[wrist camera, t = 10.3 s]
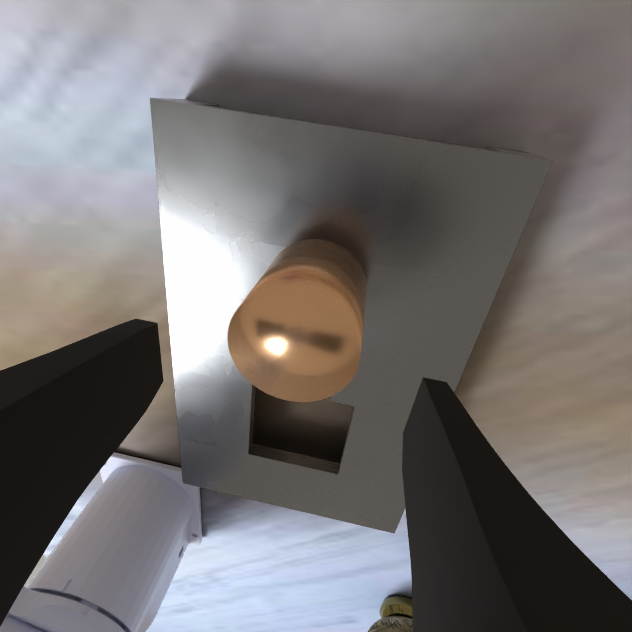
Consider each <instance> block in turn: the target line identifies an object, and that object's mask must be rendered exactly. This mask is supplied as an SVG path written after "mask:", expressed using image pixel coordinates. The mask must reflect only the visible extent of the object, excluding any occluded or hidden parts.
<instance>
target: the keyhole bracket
mask: <svg viewBox="0 0 632 632" xmlns="http://www.w3.org/2000/svg"><path fill="white" fill-rule="evenodd" d="M150 104H151V116H152V128H153V140H154V151H155V163H156V175H157V187H158V199H159V210H160V222H161V234H162V246H163V258H164V269H165V281H166V293H167V305H168V317H169V328H170V340H171V352H172V364H173V376H174V387H175V399H176V411H177V423H178V434H179V446H180V458H181V470H182V482H183V483H184V484H188V485H192V486H197V487H201V488H205V489H209V490H214V491H218V492H222V493H226V494H230V495H235V496H239V497H243V498H247V499H252V500H256V501H260V502H264V503H268V504H273V505H277V506H281V507H285V508H289V509H294V510H298V511H302V512H306V513H311V514H315V515H319V516H323V517H327V518H332V519H336V520H340V521H344V522H349V523H353V524H357V525H361V526H365V527H370V528H374V529H378V530H382V531H387V532H391V533H395V531H396V528H397V526H398V524H399V521H400V519H401V517H402V514H403V512H404V510H405V497H404V486H403V475H402V448H403V431H404V429H405V426H406V423H407V420H408V417H409V415H410V412H411V409H412V406H413V403H414V401H415V398H416V395H417V392H418V389H419V387H420V384H421V381H422V378H423V377H424V378H429V379H434V380H439V381H444V382H447V383H448V385H449V386H450V387H451V389H452V390H453V392H455V390H456V387H457V385H458V383H459V380H460V378H461V376H462V373H463V371H464V369H465V366H466V364H467V361H468V359H469V357H470V354H471V352H472V350H473V347H474V345H475V343H476V340H477V338H478V336H479V333H480V331H481V329H482V326H483V324H484V322H485V319H486V317H487V314H488V312H489V310H490V307H491V305H492V303H493V300H494V298H495V296H496V293H497V291H498V289H499V286H500V284H501V282H502V279H503V277H504V274H505V272H506V270H507V267H508V265H509V263H510V260H511V258H512V256H513V253H514V251H515V249H516V246H517V244H518V242H519V239H520V237H521V235H522V232H523V230H524V227H525V225H526V223H527V220H528V218H529V216H530V213H531V211H532V209H533V206H534V204H535V202H536V199H537V197H538V195H539V192H540V190H541V187H542V185H543V183H544V180H545V178H546V176H547V173H548V171H549V169H550V166H551V164H552V162H553V161H550V160H547V159H544V158H541V157H538V156H535V155H532V154H529V153H525V152H518V151H512V150H505V149H499V148H493V147H487V149H481V148H475V147H468V146H462V145H455V144H449V143H443V142H436V141H430V140H424V139H417V138H411V137H404V136H398V135H392V134H385V133H379V132H373V131H366V130H360V129H354V128H347V127H341V126H334V125H328V124H322V123H315V122H309V121H303V120H296V119H290V118H283V117H277V116H271V115H264V114H258V113H252V112H245V111H239V110H232V109H226V108H220V107H219V106H218V104H211V103H205V102H198V101H192V100H186V99H164V98H150ZM307 239H320V240H326V241H330V242H333V243H335V244H337V245H339V246H341V247H343V248H344V249H346V250H347V251H348V252H350V253H351V254H352V255H353V256H354V257H355V258H356V260H358V262H359V264H360V265H361V267H362V269H363V271H364V274H365V277H366V282H367V296H366V305H365V315H364V325H363V335H362V345H361V355H360V362H359V366H358V369H357V372H356V374H355V376H354V377H353V379H352V380H351V382H350V383H349V384H348V385H347V386H346V387H345V388H344V389H342V390H341V391H340V392H338V393H337V394H335V395H333V396H331V398H330V401H331V402H336V403H341V404H345V405H350V406H354V407H353V411H352V415H351V419H350V423H349V427H348V431H347V435H346V439H345V443H344V447H343V451H342V455H341V460H340V463H337V462H332V461H328V460H323V459H319V458H314V457H310V456H306V455H301V454H297V453H292V452H288V451H283V450H279V449H275V448H270V447H266V446H261V445H257V444H252V441H253V425H254V409H255V393H256V387H255V386H254V385H253V384H251V383H250V382H249V381H248V380H247V379H246V378H245V377H244V376H243V375H242V374H241V372H240V371H239V370H238V368H237V367H236V365H235V363H234V362H233V360H232V357H231V355H230V352H229V348H228V341H227V333H228V327H229V324H230V321H231V318H232V317H233V315H234V313H235V311H236V310H237V309H238V307H239V306H240V305H241V303H242V302H243V301H244V299H245V298H246V297H247V295H248V294H249V293H250V291H251V290H252V288H253V287H254V286H255V284H256V283H257V282H258V280H259V279H260V278H261V276H262V275H263V274H264V272H265V271H266V270H267V268H268V267H269V266H270V264H271V263H272V261H273V260H274V259H275V257H276V256H277V255H278V254H279V253H280V252H281V251H282V250H283V249H284V248H286V247H287V246H289V245H291V244H293V243H295V242H298V241H302V240H307Z"/></svg>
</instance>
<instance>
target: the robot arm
mask: <svg viewBox="0 0 632 632" xmlns="http://www.w3.org/2000/svg"><path fill="white" fill-rule="evenodd" d="M162 383H163V373H162V363H161V354H160V344H159V334H158V324H157V323H154V322H150V321H145V320H140V319H134V320H131V321H128V322H125V323H122V324H120V325H117V326H114V327H112V328H109V329H107V330H104V331H102V332H99V333H97V334H95V335H92V336H90V337H87V338H85V339H82V340H80V341H77V342H75V343H72V344H70V345H67V346H65V347H62V348H60V349H57V350H55V351H52V352H50V353H47V354H44V355H42V356H39V357H36V358H34V359H31V360H28V361H26V362H23V363H20V364H17V365H15V366H12V367H9V368H7V369H4V370H1V371H0V632H145V631H146V630H147V629H148V628H149V626H150V625H151V623H152V622H153V620H154V618H155V616H156V614H157V612H158V610H159V608H160V605H161V603H162V601H163V599H164V597H165V594H166V592H167V590H168V588H169V586H170V583H171V581H172V579H173V577H174V574H175V572H176V570H177V568H178V566H179V563H180V561H181V559H182V557H183V554H184V552H185V550H186V548H187V546H188V543H191V544H195V545H199V544H200V543H201V541H202V525H201V504H200V487H197V486H192V485H188V484H184V483H183V482H182V470H181V468H179V467H175V466H171V465H167V464H162V463H158V462H154V461H149V460H145V459H141V458H137V457H132V456H128V455H124V454H119V453H115V450H116V449H117V448H118V447H119V445H120V444H121V443H122V442H123V440H124V439H125V438H126V437H127V435H128V434H129V433H130V431H131V430H132V429H133V428H134V426H135V425H136V424H137V422H138V421H139V420H140V418H141V417H142V416H143V414H144V413H145V412H146V410H147V408H148V407H149V405H150V403H151V402H152V400H153V399H154V397H155V395H156V393H157V391H158V390H159V388H160V386H161V384H162ZM99 471H100V473H101V476H102V480H103V484H102V486H101V487H100V488H99V490H98V491H97V492H96V494H95V495H94V496H93V498H92V499H91V500H90V502H89V503H88V504H87V506H86V507H85V508H84V510H83V511H82V512H81V514H80V515H79V516H78V518H77V519H76V520H75V522H74V523H73V524H72V526H71V527H70V528H69V530H68V531H67V532H66V534H65V535H64V536H63V538H62V539H61V540H60V542H59V543H58V545H57V546H56V547H55V549H54V550H53V551H52V553H51V554H50V555H49V557H48V558H47V559H46V561H45V562H44V563H43V565H42V566H41V567H40V569H39V570H38V571H37V573H36V574H35V575H34V577H33V578H32V579H31V581H30V582H29V583H28V585H27V586H26V587H24V584H25V583H26V581H27V579H28V578H29V576H30V574H31V573H32V571H33V570H34V568H35V566H36V564H37V563H38V561H39V560H40V558H41V556H42V555H43V553H44V552H45V550H46V548H47V547H48V545H49V543H50V542H51V540H52V539H53V537H54V535H55V534H56V532H57V531H58V529H59V528H60V526H61V525H62V523H63V521H64V520H65V518H66V517H67V515H68V514H69V512H70V511H71V509H72V508H73V506H74V504H75V503H76V501H77V500H78V499H79V497H80V496H81V494H82V493H83V492H84V490H85V489H86V488H87V486H88V485H89V483H90V482H91V481H92V480H93V478H94V477H95V476H96V475H97V473H98V472H99ZM402 475H403V486H404V497H405V507H406V517H407V527H408V537H409V548H410V558H411V573H412V632H632V600H631V599H630V598H629V597H627V596H626V595H625V594H624V593H623V592H622V591H621V590H620V589H619V588H618V587H617V586H616V585H615V584H614V583H613V582H612V581H611V580H610V579H609V578H608V577H607V576H606V575H605V574H604V573H603V572H602V571H601V570H600V569H599V568H598V567H597V566H596V565H595V564H594V563H593V562H592V561H591V560H590V559H589V558H588V557H587V556H586V555H585V554H584V553H583V552H582V551H581V550H580V549H579V548H578V547H577V546H576V545H575V544H574V543H573V542H572V541H571V540H570V539H569V538H568V537H567V536H566V535H565V533H564V532H563V531H562V530H561V529H560V528H559V527H558V526H557V525H556V524H555V523H554V521H553V520H552V519H551V518H550V517H549V516H548V515H547V514H546V513H545V512H544V511H543V509H542V508H541V507H540V506H539V505H538V504H537V503H536V501H535V500H534V499H533V498H532V497H531V496H530V495H529V493H528V492H527V491H526V490H525V488H524V487H523V486H522V485H521V484H520V482H519V481H518V480H517V479H516V477H515V476H514V475H513V474H512V472H511V471H510V470H509V469H508V467H507V466H506V465H505V464H504V462H503V461H502V460H501V458H500V457H499V456H498V455H497V453H496V452H495V451H494V449H493V448H492V446H491V445H490V444H489V442H488V441H487V440H486V438H485V437H484V435H483V434H482V433H481V431H480V430H479V428H478V427H477V426H476V424H475V423H474V421H473V420H472V418H471V417H470V415H469V414H468V413H467V411H466V410H465V408H464V407H463V405H462V404H461V402H460V401H459V399H458V398H457V396H456V395H455V393H454V392H453V390H452V389H451V387H450V386H449V385H448V383H447V382H444V381H439V380H434V379H429V378H424V377H423V378H422V381H421V384H420V387H419V389H418V392H417V395H416V398H415V401H414V403H413V406H412V409H411V412H410V415H409V417H408V420H407V423H406V426H405V429H404V431H403V448H402Z"/></svg>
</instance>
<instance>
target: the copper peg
mask: <svg viewBox="0 0 632 632" xmlns="http://www.w3.org/2000/svg"><path fill="white" fill-rule="evenodd" d="M366 296H367V282H366V277H365V274H364V271H363V269H362V267H361V265H360V264H359V262H358V260H356V258H355V257H354V256H353V255H352V254H351V253H350V252H348V251H347V250H346V249H344V248H343V247H341V246H339V245H337V244H335V243H333V242H330V241H326V240H320V239H307V240H302V241H298V242H295V243H293V244H291V245H289V246H287V247H286V248H284V249H283V250H282V251H281V252H280V253H279V254H278V255H277V256H276V257H275V259H274V260H273V261H272V263H271V264H270V266H269V267H268V268H267V270H266V271H265V272H264V274H263V275H262V276H261V278H260V279H259V280H258V282H257V283H256V284H255V286H254V287H253V288H252V290H251V291H250V293H249V294H248V295H247V297H246V298H245V299H244V301H243V302H242V303H241V305H240V306H239V307H238V309H237V310H236V311H235V313H234V315H233V317H232V318H231V321H230V324H229V327H228V333H227V341H228V348H229V352H230V355H231V357H232V360H233V362H234V363H235V365H236V367H237V368H238V370H239V371H240V372H241V374H242V375H243V376H244V377H245V378H246V379H247V380H248V381H249V382H250V383H251V384H253V385H254V386H255V387H257V388H258V389H260V390H261V391H263V392H265V393H267V394H269V395H271V396H274V397H276V398H280V399H283V400H287V401H294V402H313V401H318V400H323V399H326V398H329V397H331V396H333V395H335V394H337V393H338V392H340V391H341V390H342V389H344V388H345V387H346V386H347V385H348V384H349V383H350V382H351V380H352V379H353V377H354V376H355V374H356V372H357V369H358V366H359V362H360V355H361V345H362V335H363V325H364V315H365V305H366Z"/></svg>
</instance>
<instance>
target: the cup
mask: <svg viewBox="0 0 632 632" xmlns="http://www.w3.org/2000/svg"><path fill="white" fill-rule="evenodd" d="M380 616H381V619H380V620H378V621H377V622H375V623H374V624H373V625H372V626H371V628H370V629H369V631H368V632H412V599H410V598H407V597H402V596H393V597H389V598H387V599H385V600H384V601H383V603H382V605H381V608H380Z"/></svg>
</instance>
